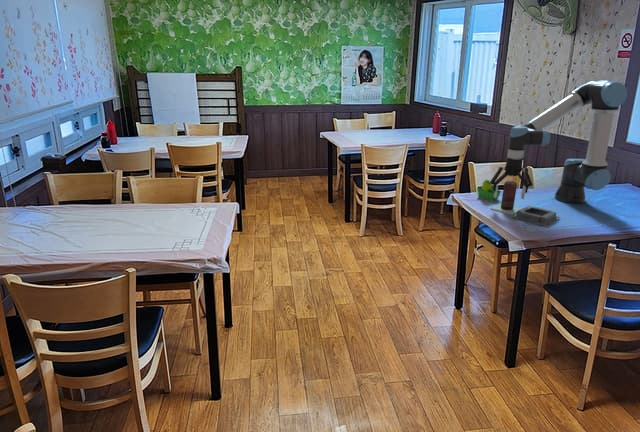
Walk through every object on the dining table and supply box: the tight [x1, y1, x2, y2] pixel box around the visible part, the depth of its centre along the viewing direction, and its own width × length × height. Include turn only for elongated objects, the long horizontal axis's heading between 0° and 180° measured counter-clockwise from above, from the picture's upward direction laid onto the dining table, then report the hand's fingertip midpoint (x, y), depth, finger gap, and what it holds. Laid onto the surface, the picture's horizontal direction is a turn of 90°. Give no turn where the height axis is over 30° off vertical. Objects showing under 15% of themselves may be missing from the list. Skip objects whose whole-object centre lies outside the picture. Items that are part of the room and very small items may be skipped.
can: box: [500, 180, 518, 210], centre depth 235 cm, size 6×6×14 cm
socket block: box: [511, 205, 560, 227], centre depth 224 cm, size 16×16×4 cm
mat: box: [490, 203, 522, 216], centre depth 237 cm, size 12×12×1 cm
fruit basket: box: [476, 179, 502, 202], centre depth 254 cm, size 11×9×11 cm
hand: (508, 198), depth 235 cm, fingers open, 13 cm apart
